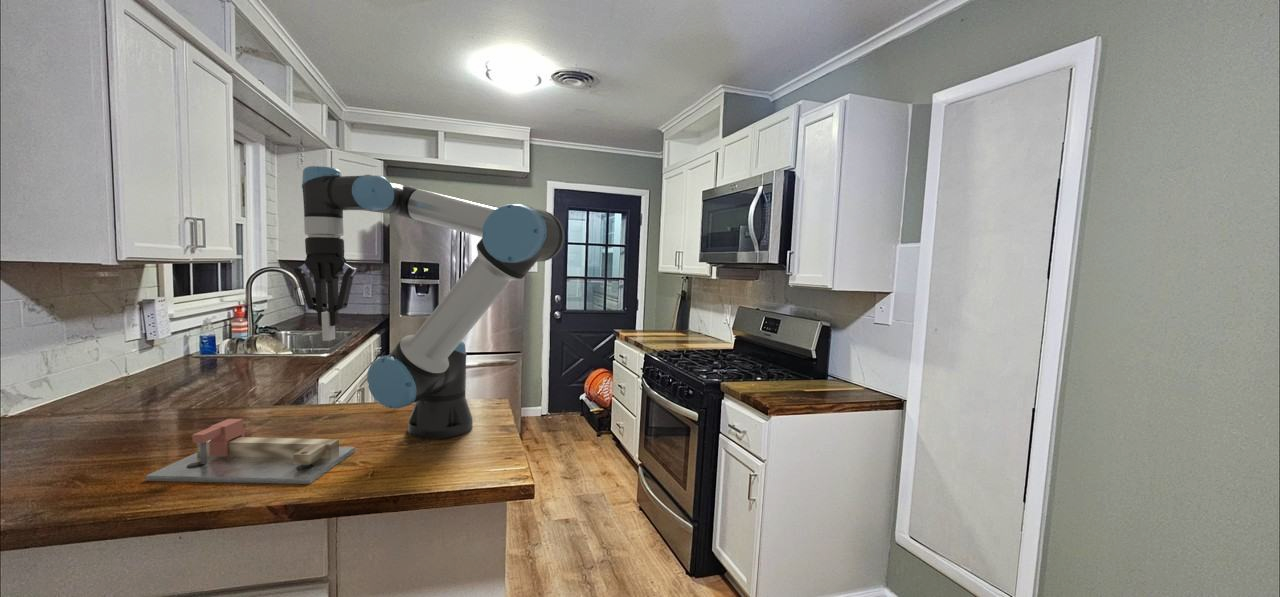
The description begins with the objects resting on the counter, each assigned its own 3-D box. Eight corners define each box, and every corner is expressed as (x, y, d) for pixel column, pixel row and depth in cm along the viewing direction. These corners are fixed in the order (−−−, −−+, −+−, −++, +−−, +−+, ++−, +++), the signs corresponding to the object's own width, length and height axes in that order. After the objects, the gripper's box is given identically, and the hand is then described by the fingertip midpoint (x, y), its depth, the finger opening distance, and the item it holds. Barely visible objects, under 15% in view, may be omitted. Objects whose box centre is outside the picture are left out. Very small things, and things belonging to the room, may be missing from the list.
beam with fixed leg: (339, 453, 107) (338, 439, 107) (314, 469, 99) (314, 455, 99) (209, 450, 106) (208, 436, 106) (173, 466, 98) (172, 451, 98)
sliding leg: (244, 446, 108) (244, 418, 107) (206, 466, 98) (205, 435, 97) (230, 446, 108) (229, 418, 107) (190, 465, 98) (189, 434, 97)
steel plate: (355, 451, 111) (354, 446, 111) (309, 483, 95) (309, 478, 95) (215, 448, 110) (215, 443, 110) (146, 480, 94) (145, 474, 94)
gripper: (362, 238, 119) (365, 337, 120) (303, 237, 117) (308, 337, 119) (346, 236, 111) (351, 342, 113) (284, 236, 110) (289, 342, 112)
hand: (329, 339), depth 116 cm, fingers closed
